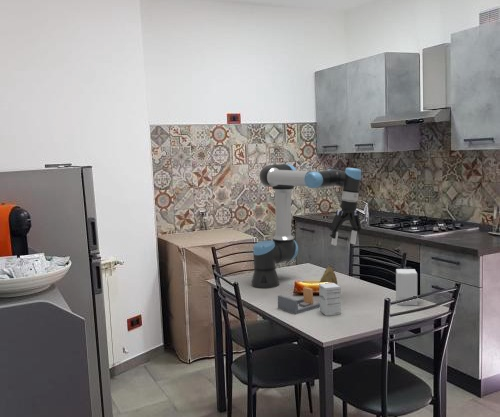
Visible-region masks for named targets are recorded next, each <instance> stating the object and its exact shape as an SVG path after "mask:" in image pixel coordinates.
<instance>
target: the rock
mask: <svg viewBox="0 0 500 417" xmlns="http://www.w3.org/2000/svg"><path fill="white" fill-rule="evenodd" d="M320 282H333V283H335V284H337V285H338V280H337V276H336V273H335V272H334V270H333V268H332V267H331V266H329V265H328V266H327V267H326V268H325V270H324V272H323V275H322V276H321V278H320V280H319V283H320Z"/></svg>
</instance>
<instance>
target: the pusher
mask: <svg viewBox="0 0 500 417" xmlns="http://www.w3.org/2000/svg"><path fill="white" fill-rule="evenodd" d="M302 291H303V298H304V302H302V303H299V304H298V307H300V308H303V307H306V306H310V305H313V304H314V295H313V294H314V291H313V288H310V287H306V286H305V287H302Z"/></svg>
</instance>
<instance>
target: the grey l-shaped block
mask: <svg viewBox="0 0 500 417" xmlns="http://www.w3.org/2000/svg"><path fill="white" fill-rule="evenodd" d="M302 302H304V297H303V298H299V299H296V298H295V299H294V298H291V297H289V296H284V295H281V294H279V295H277V308H278V310H282V311H285V312H288V313H290V314H294V315H299V314H301V313H304V312H308V311H311V310H314V309H317V308H318V309H319V308H320V302H317V303H313V305H310V306H306V307H299V303H302Z"/></svg>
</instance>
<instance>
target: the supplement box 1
mask: <svg viewBox="0 0 500 417" xmlns="http://www.w3.org/2000/svg"><path fill="white" fill-rule="evenodd" d="M318 284H319V283H318ZM318 289H319V290H318V294H319V298H318V299H319V303H320V307H319V312H321V313H322V314H323V315H325V317H326V316H338V315H341V314H342V309H341V308H342V306H341V305H342V304H341V303H342V302H341V299H342V298H341V296H342V295H341V286H340V285H338V283H337V284H335V283H325V284H319V285H318Z"/></svg>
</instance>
